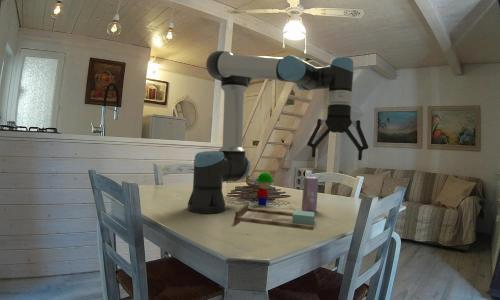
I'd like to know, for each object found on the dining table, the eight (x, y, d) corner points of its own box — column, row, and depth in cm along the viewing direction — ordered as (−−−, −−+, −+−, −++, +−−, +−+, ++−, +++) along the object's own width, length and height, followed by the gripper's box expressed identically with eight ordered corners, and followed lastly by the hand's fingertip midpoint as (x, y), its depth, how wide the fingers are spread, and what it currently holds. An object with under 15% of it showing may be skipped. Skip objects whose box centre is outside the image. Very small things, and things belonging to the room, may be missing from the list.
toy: (267, 208, 126) (269, 173, 126) (251, 205, 130) (253, 172, 130) (275, 206, 133) (277, 172, 132) (260, 203, 137) (262, 171, 136)
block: (292, 223, 99) (292, 214, 99) (294, 218, 106) (294, 209, 106) (313, 225, 97) (313, 216, 97) (313, 220, 104) (314, 212, 104)
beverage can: (315, 212, 124) (317, 176, 124) (317, 215, 119) (319, 178, 118) (301, 211, 125) (303, 175, 125) (302, 214, 119) (304, 177, 119)
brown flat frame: (234, 224, 99) (234, 212, 99) (246, 213, 115) (246, 203, 115) (312, 234, 93) (313, 221, 93) (314, 221, 109) (314, 210, 108)
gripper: (301, 102, 98) (298, 166, 98) (380, 104, 92) (376, 172, 93) (303, 105, 105) (299, 165, 106) (376, 107, 100) (372, 170, 100)
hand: (335, 168), depth 99 cm, fingers open, 12 cm apart
